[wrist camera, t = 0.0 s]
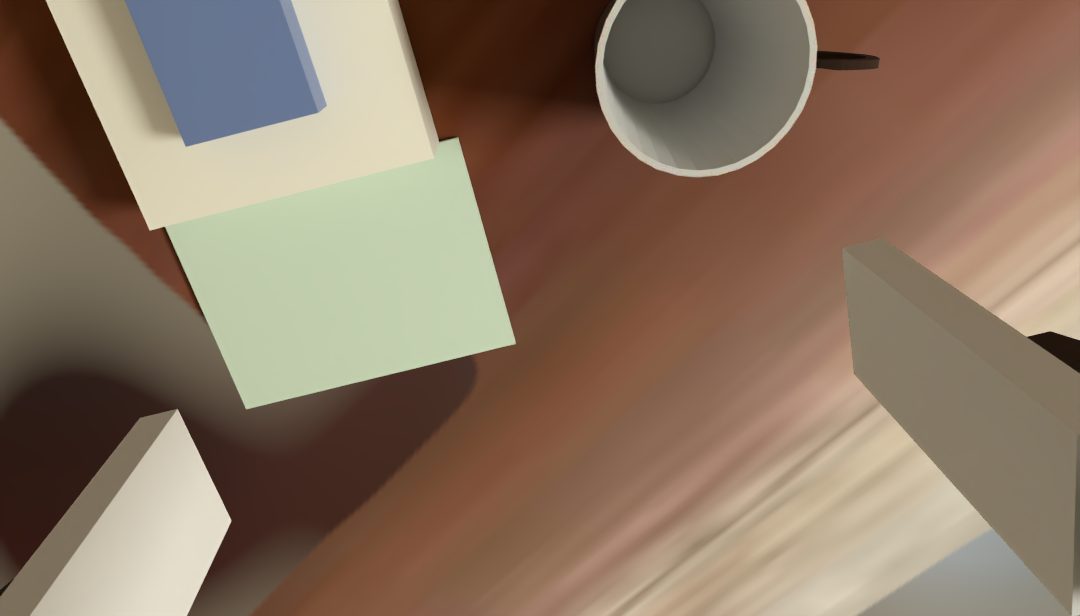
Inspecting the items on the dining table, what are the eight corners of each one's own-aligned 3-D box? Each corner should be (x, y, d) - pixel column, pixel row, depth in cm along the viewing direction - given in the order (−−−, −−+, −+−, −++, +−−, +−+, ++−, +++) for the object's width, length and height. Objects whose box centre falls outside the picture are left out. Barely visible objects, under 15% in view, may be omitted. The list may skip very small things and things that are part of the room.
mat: (161, 212, 42) (159, 213, 42) (458, 136, 42) (457, 138, 41) (247, 406, 47) (245, 409, 47) (515, 341, 46) (515, 343, 46)
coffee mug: (541, 85, 41) (556, 119, 32) (623, -84, 38) (665, -101, 29) (735, 183, 43) (801, 241, 34) (825, 31, 41) (923, 49, 31)
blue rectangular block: (114, -74, 33) (92, -76, 32) (253, -112, 33) (239, -117, 31) (200, 138, 37) (185, 146, 35) (327, 105, 37) (318, 112, 35)
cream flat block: (33, -131, 36) (-19, -143, 32) (335, -214, 35) (317, -235, 32) (179, 207, 42) (150, 230, 38) (439, 141, 42) (434, 158, 38)
